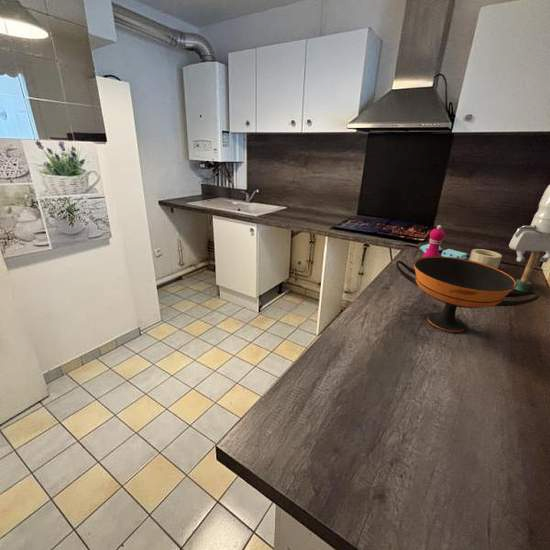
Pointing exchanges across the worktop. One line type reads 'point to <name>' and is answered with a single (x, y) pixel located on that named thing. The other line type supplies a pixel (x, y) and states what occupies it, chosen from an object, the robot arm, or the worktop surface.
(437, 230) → the pepper mill
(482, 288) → the cup
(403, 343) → the worktop surface
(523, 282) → the brush
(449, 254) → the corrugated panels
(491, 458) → the worktop surface
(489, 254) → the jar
